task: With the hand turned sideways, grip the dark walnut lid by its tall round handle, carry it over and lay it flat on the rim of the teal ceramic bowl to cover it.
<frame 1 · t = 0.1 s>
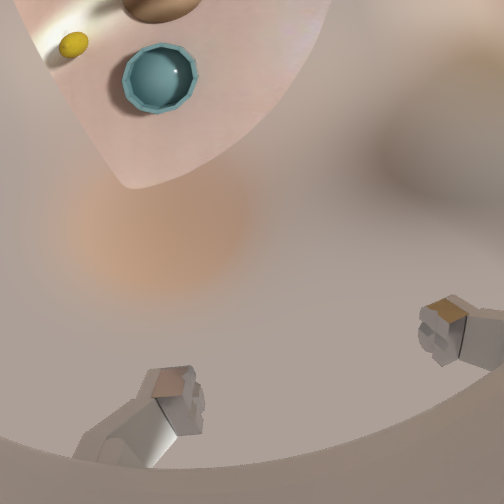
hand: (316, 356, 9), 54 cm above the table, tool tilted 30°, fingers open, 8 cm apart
lemon: (82, 44, 36), on the table
bowl: (162, 76, 45), on the table
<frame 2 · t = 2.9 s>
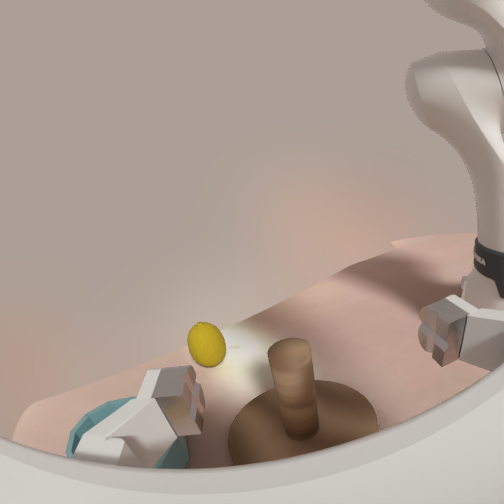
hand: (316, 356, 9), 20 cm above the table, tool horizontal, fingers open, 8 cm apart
lid: (303, 433, 25), on the table
lemon: (214, 366, 41), on the table
bowl: (132, 456, 24), on the table
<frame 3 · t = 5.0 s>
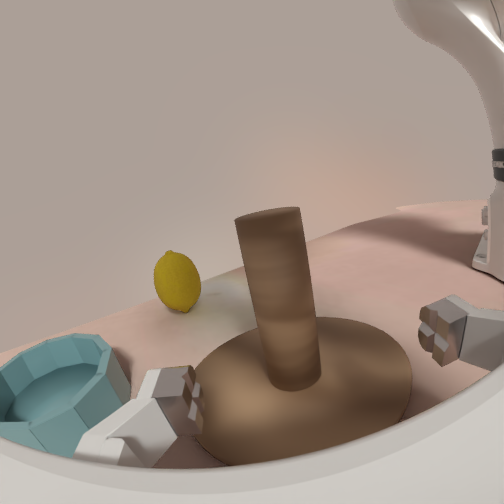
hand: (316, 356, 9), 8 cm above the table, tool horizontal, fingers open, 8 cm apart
lid: (297, 384, 18), on the table
lemon: (186, 313, 34), on the table
bowl: (61, 410, 17), on the table
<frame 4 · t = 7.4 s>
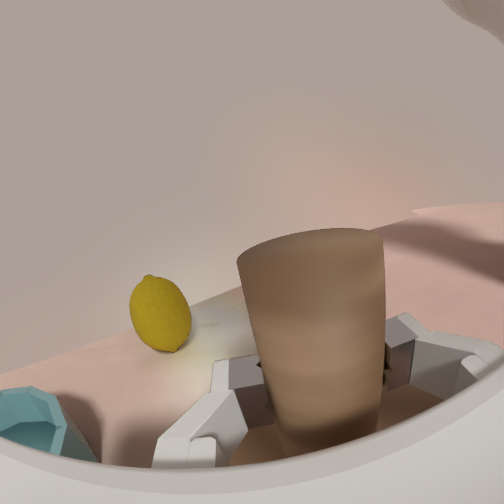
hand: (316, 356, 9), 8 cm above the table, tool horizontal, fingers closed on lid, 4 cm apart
lid: (329, 482, 10), on the table, touching gripper
lemon: (174, 353, 25), on the table
bowl: (23, 482, 8), on the table
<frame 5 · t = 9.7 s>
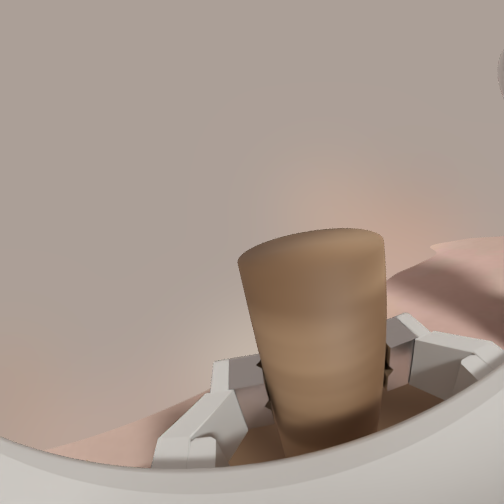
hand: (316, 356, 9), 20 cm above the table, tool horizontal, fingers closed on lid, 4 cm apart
lid: (330, 483, 10), point 12 cm above the table, touching gripper
when the fingers open (13 cm above the table, at t = 12.2 s): lid drops 1 cm, resting on bowl.
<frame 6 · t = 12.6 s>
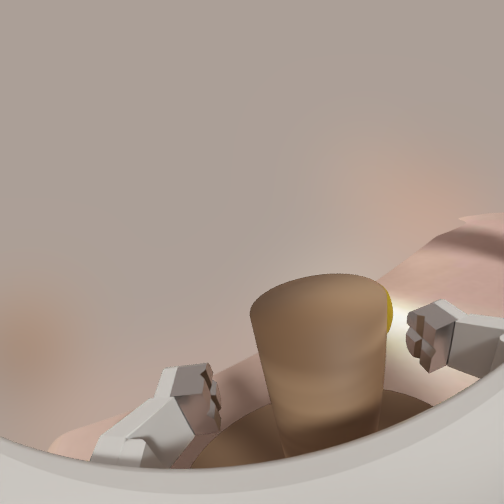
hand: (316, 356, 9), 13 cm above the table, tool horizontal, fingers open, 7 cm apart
lid: (330, 493, 10), point 4 cm above the table, touching bowl
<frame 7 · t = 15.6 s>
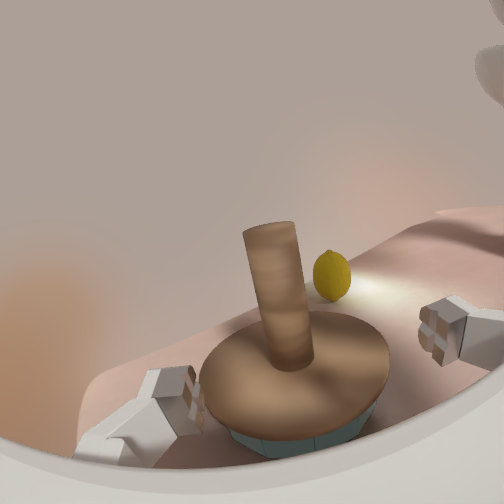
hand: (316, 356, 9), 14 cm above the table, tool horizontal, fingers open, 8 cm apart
lid: (294, 367, 22), point 4 cm above the table, touching bowl
lemon: (334, 302, 41), on the table
bowl: (299, 398, 23), on the table
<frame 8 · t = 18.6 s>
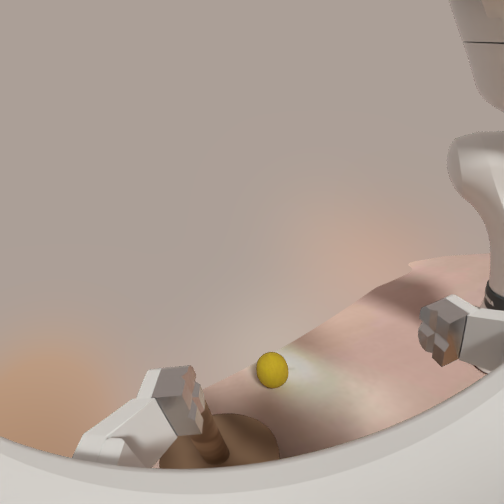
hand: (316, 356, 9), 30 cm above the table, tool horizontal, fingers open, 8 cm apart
lid: (218, 458, 29), point 4 cm above the table, touching bowl
lemon: (276, 387, 47), on the table
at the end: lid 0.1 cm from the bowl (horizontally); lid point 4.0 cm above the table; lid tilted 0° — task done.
